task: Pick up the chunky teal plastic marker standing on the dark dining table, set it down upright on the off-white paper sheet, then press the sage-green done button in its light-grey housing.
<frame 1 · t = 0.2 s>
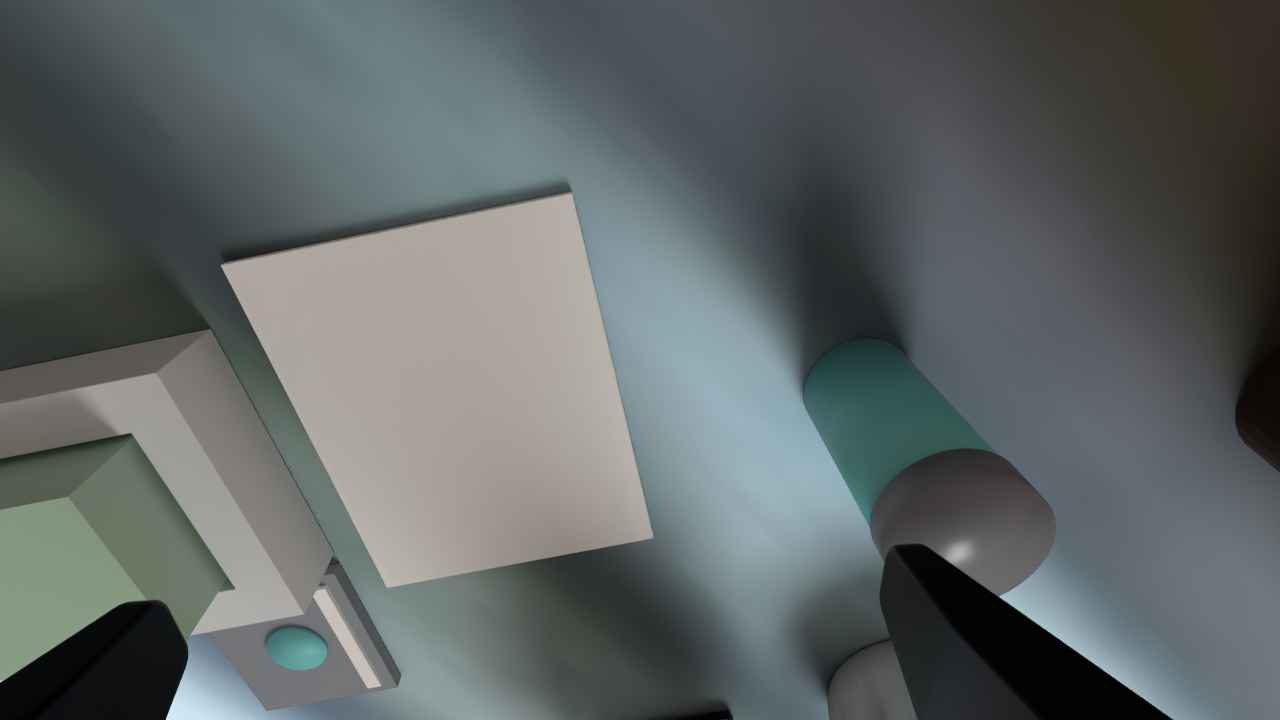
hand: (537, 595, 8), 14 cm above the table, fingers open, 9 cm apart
paper: (467, 415, 23), on the table
marker: (857, 387, 24), on the table
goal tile: (303, 634, 28), on the table
button housing: (145, 477, 24), on the table
done button: (78, 546, 21), point 3 cm above the table, slide at 0.0 cm
cupcake: (887, 677, 32), on the table
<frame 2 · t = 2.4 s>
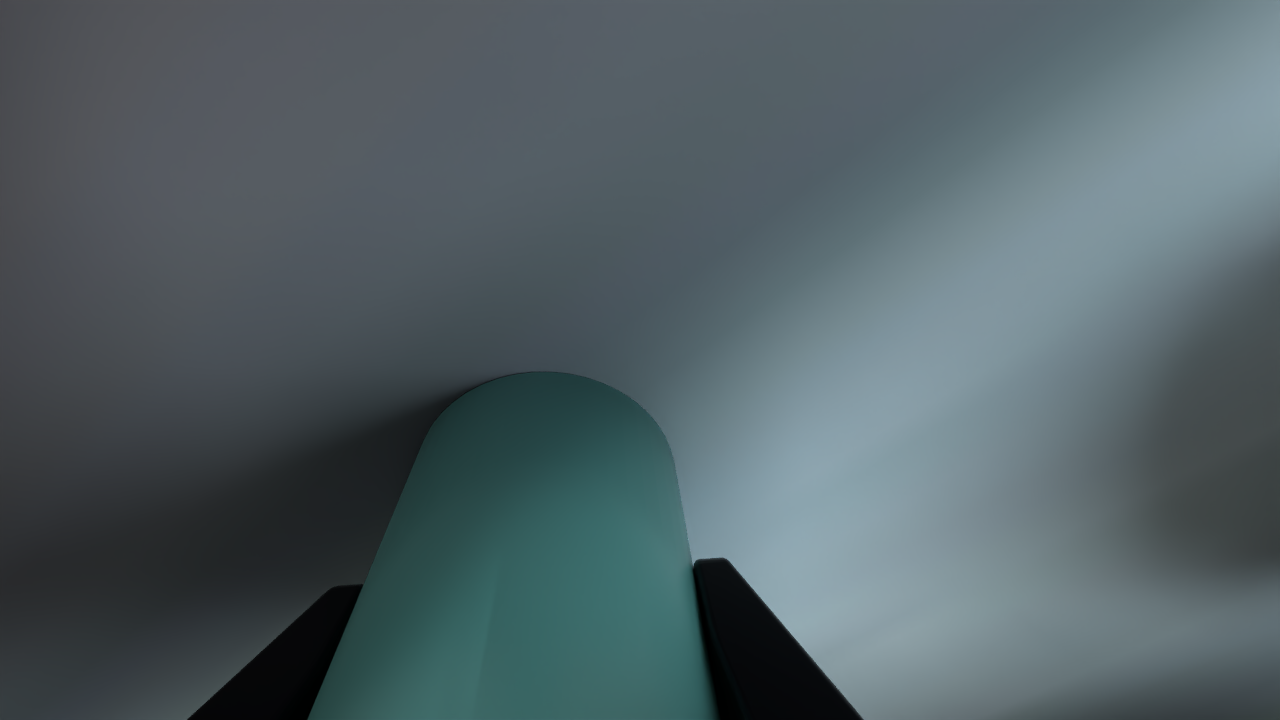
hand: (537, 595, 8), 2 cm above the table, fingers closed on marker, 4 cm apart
marker: (548, 484, 10), on the table, touching gripper
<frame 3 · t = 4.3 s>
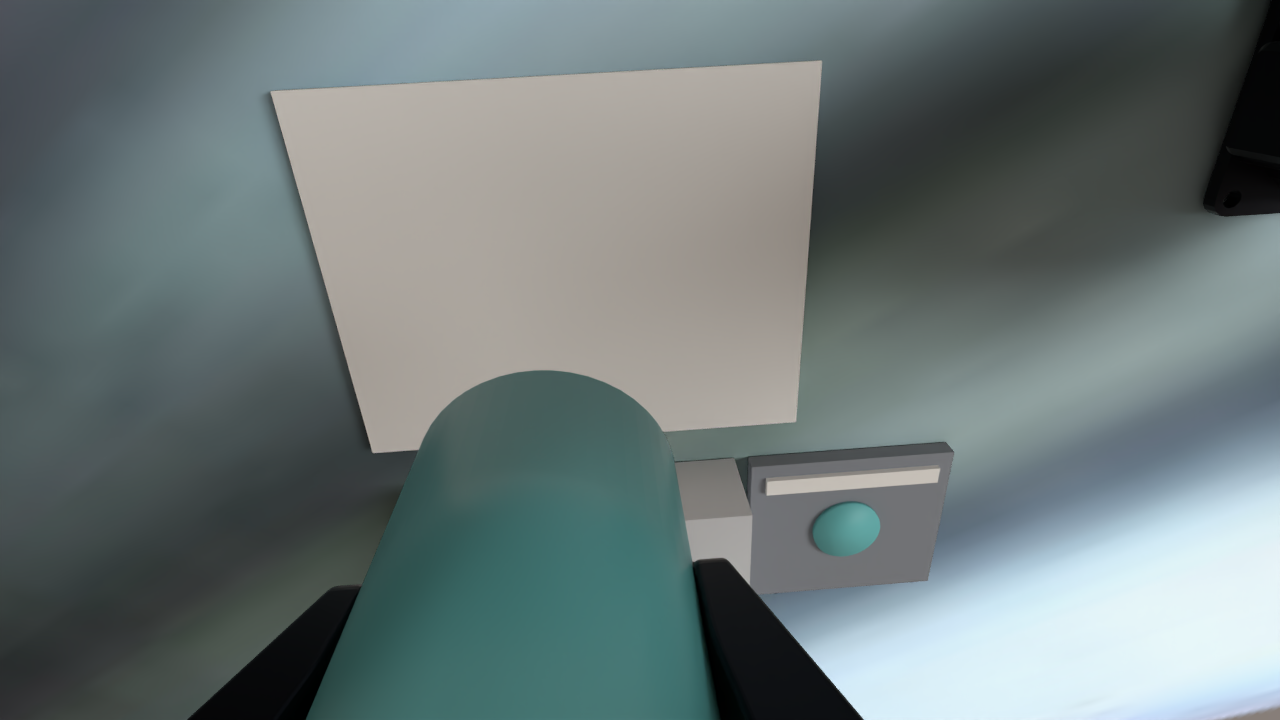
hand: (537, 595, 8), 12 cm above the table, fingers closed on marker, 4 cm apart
paper: (571, 276, 19), on the table
marker: (548, 483, 10), point 10 cm above the table, touching gripper
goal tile: (839, 516, 24), on the table
button housing: (601, 575, 25), on the table
when the fingers open (3 cm above the table, at t = 6.2 s): marker stays where it is, resting on paper.
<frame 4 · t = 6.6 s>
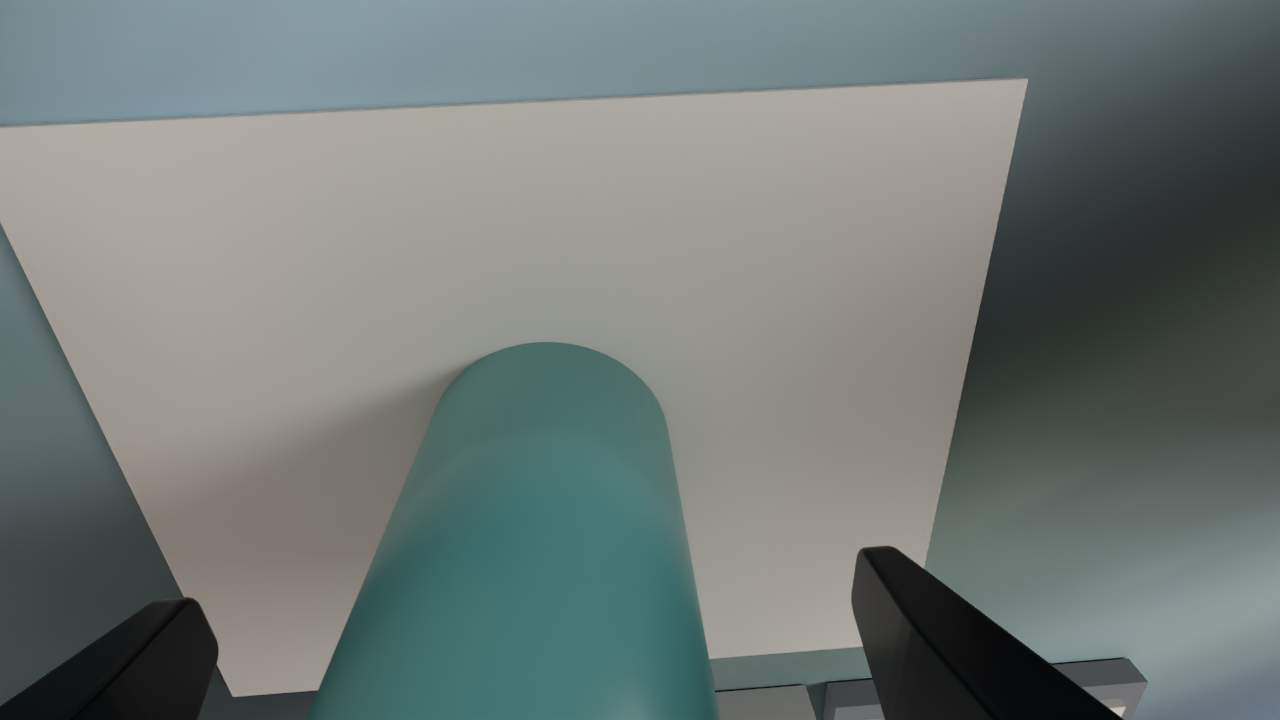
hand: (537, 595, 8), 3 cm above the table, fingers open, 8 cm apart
paper: (551, 440, 11), on the table
marker: (551, 448, 11), resting on paper
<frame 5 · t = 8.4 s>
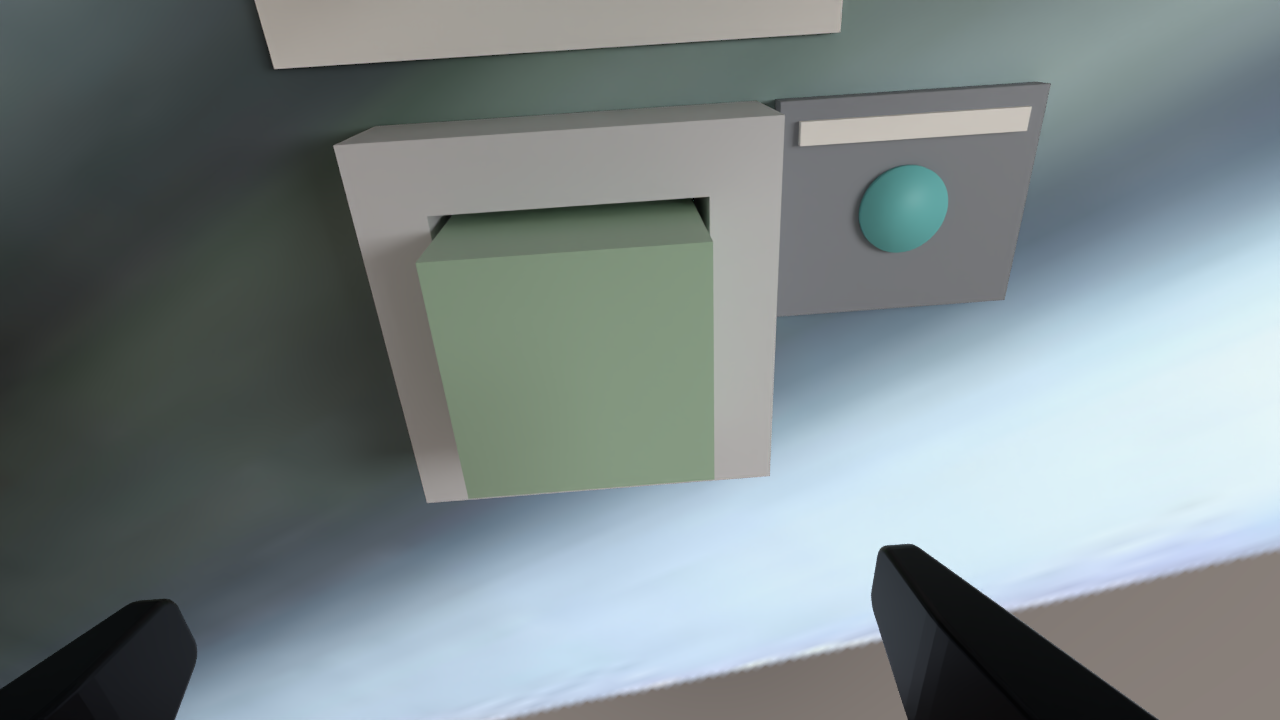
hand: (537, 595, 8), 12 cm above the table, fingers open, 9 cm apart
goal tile: (893, 203, 19), on the table
button housing: (585, 291, 19), on the table
done button: (582, 342, 16), point 4 cm above the table, slide at 0.0 cm
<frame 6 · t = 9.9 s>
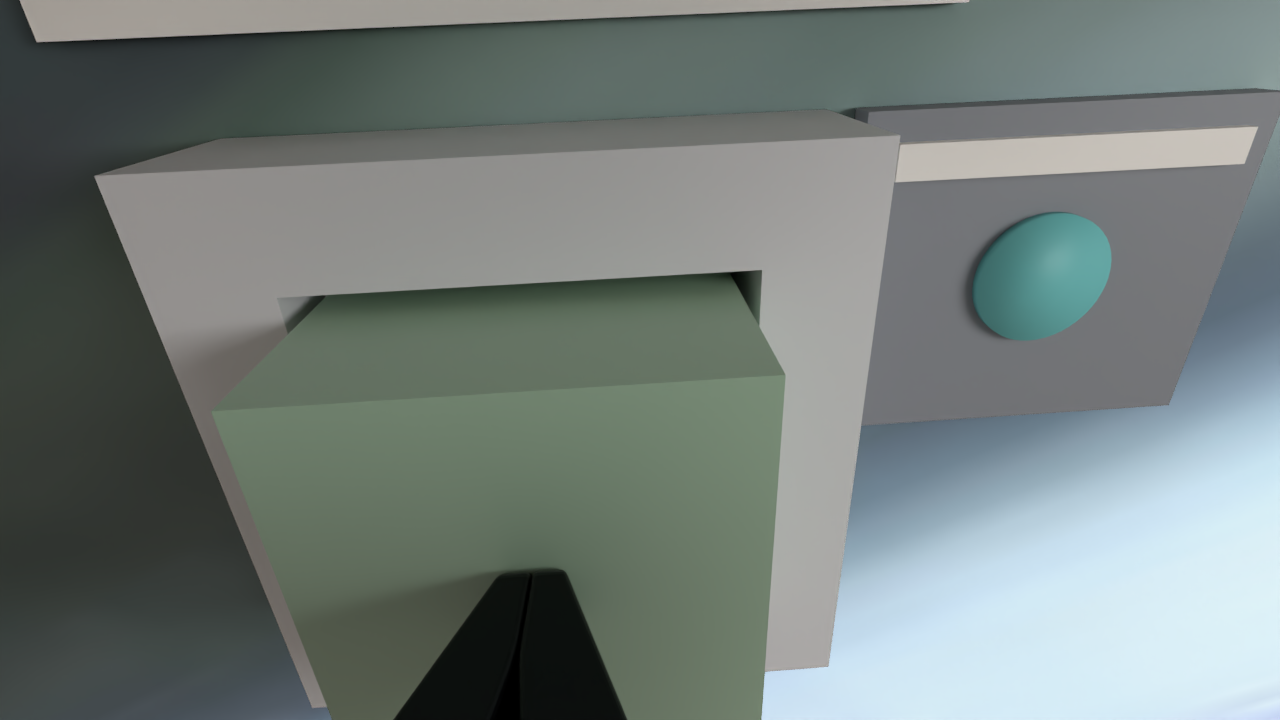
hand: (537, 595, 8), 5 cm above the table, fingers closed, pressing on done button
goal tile: (1018, 266, 13), on the table
button housing: (557, 387, 13), on the table
done button: (545, 498, 10), point 3 cm above the table, slide at 0.0 cm, touching gripper
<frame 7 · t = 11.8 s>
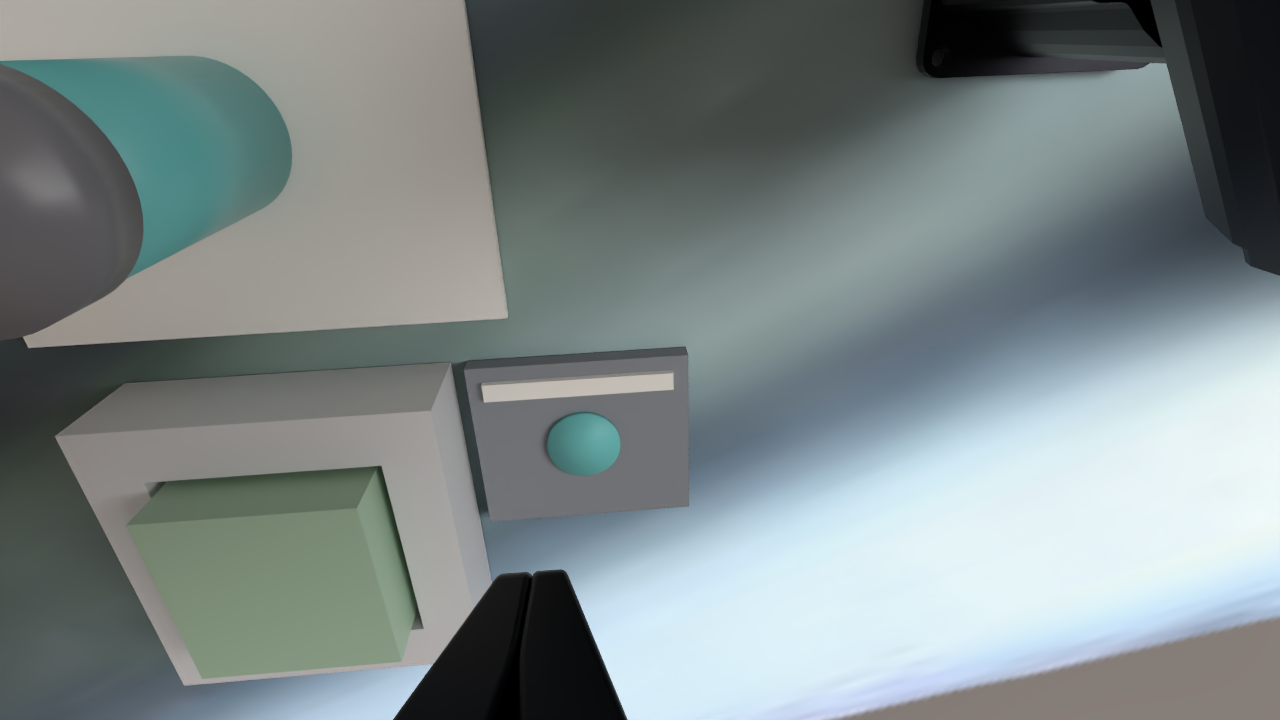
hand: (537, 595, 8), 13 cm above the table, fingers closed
paper: (216, 139, 17), on the table
marker: (210, 139, 17), resting on paper
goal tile: (584, 432, 22), on the table
button housing: (329, 499, 23), on the table
done button: (301, 549, 21), point 2 cm above the table, slide at 1.0 cm
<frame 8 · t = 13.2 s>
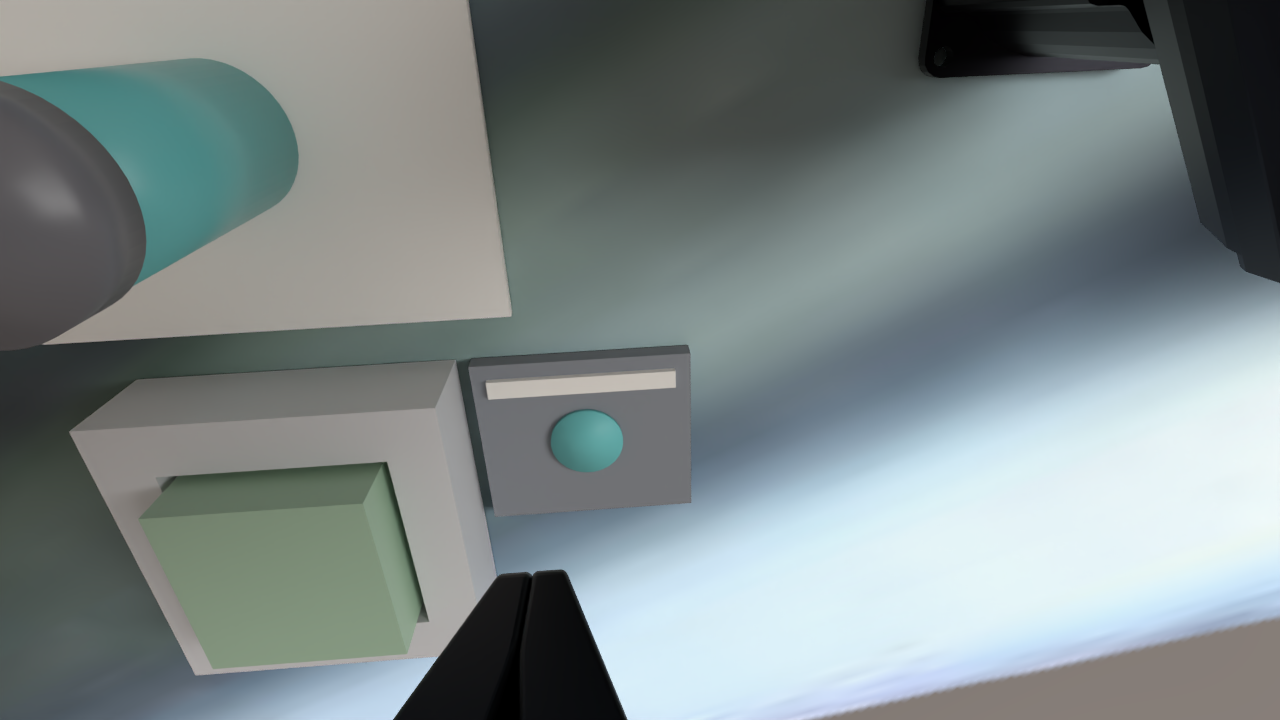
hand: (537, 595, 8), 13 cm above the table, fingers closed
paper: (225, 140, 18), on the table
marker: (219, 141, 17), resting on paper
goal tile: (587, 429, 23), on the table
button housing: (336, 494, 23), on the table
done button: (309, 543, 21), point 2 cm above the table, slide at 1.0 cm
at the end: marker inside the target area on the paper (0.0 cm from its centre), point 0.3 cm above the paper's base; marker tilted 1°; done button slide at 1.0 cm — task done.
